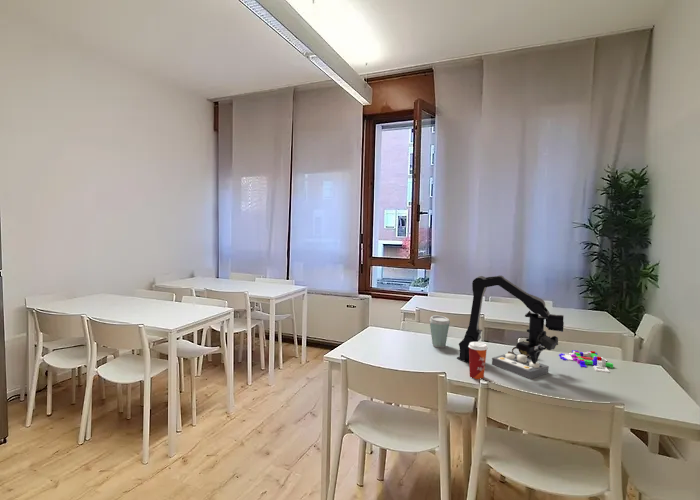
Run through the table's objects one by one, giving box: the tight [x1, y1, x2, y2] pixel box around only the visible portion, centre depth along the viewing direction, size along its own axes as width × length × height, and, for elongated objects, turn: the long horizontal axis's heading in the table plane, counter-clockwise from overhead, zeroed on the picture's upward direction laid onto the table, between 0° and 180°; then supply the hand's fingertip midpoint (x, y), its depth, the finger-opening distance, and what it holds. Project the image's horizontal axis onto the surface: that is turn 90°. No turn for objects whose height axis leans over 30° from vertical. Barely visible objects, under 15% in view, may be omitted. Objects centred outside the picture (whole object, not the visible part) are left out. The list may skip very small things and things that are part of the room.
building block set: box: [558, 349, 614, 374], centre depth 186 cm, size 25×20×4 cm
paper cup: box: [468, 341, 488, 380], centre depth 164 cm, size 8×8×14 cm
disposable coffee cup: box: [428, 315, 451, 348], centre depth 203 cm, size 11×11×15 cm
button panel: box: [491, 353, 550, 380], centre depth 175 cm, size 13×19×3 cm
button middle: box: [516, 353, 528, 364], centre depth 175 cm, size 4×4×3 cm
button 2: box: [529, 361, 540, 368], centre depth 170 cm, size 4×4×3 cm
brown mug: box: [507, 341, 530, 358], centre depth 190 cm, size 7×13×10 cm
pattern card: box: [497, 357, 532, 370], centre depth 172 cm, size 4×15×1 cm, turn 32°
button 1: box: [504, 352, 515, 360], centre depth 180 cm, size 4×4×3 cm
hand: (534, 363), depth 170 cm, fingers closed, pressing on button 2
